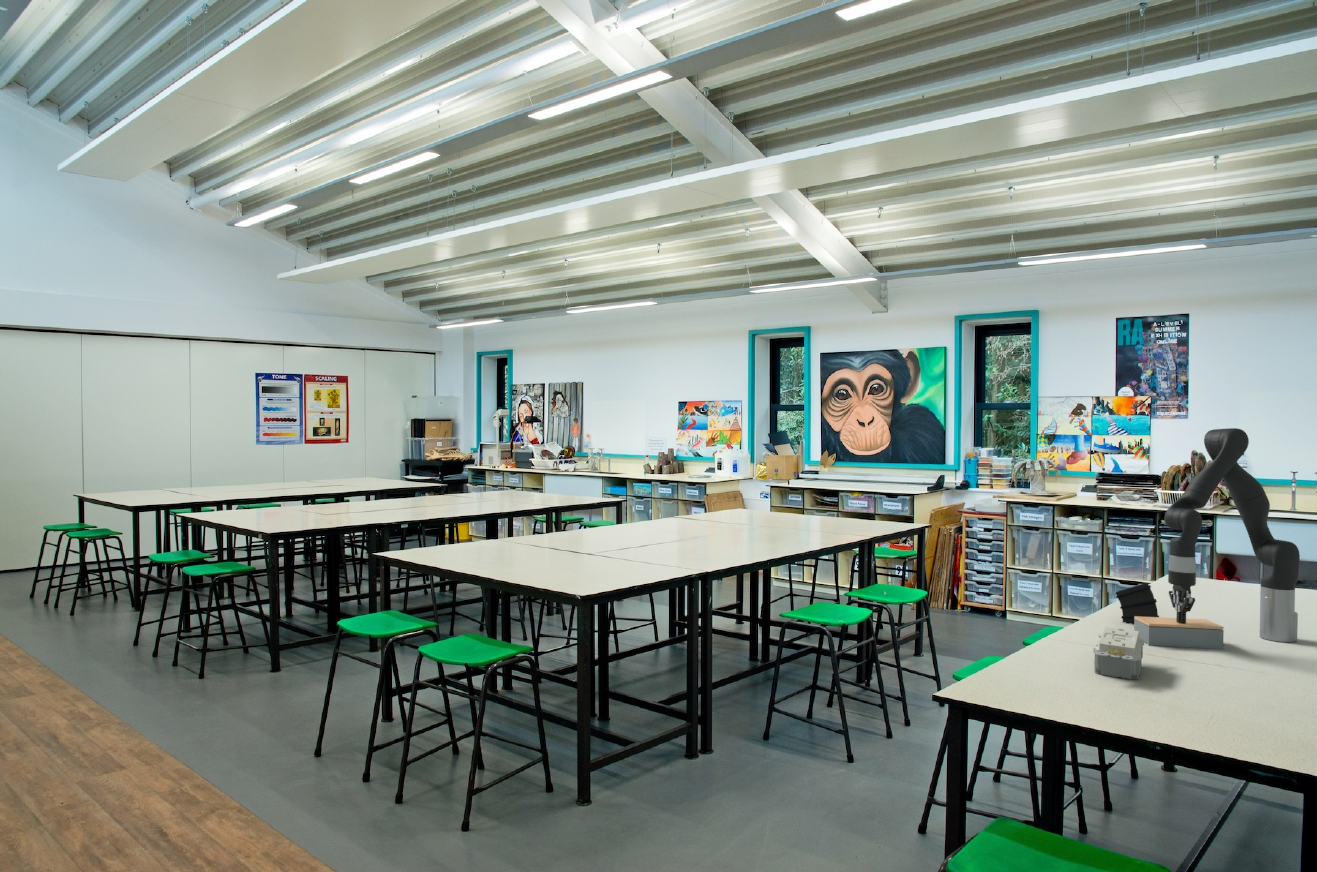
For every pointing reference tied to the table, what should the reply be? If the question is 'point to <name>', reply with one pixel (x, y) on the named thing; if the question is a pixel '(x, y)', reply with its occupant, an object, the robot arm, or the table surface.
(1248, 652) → the table surface
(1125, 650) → the electrical outlet
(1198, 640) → the grey rectangular box
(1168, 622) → the tan flat rectangular panel
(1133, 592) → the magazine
